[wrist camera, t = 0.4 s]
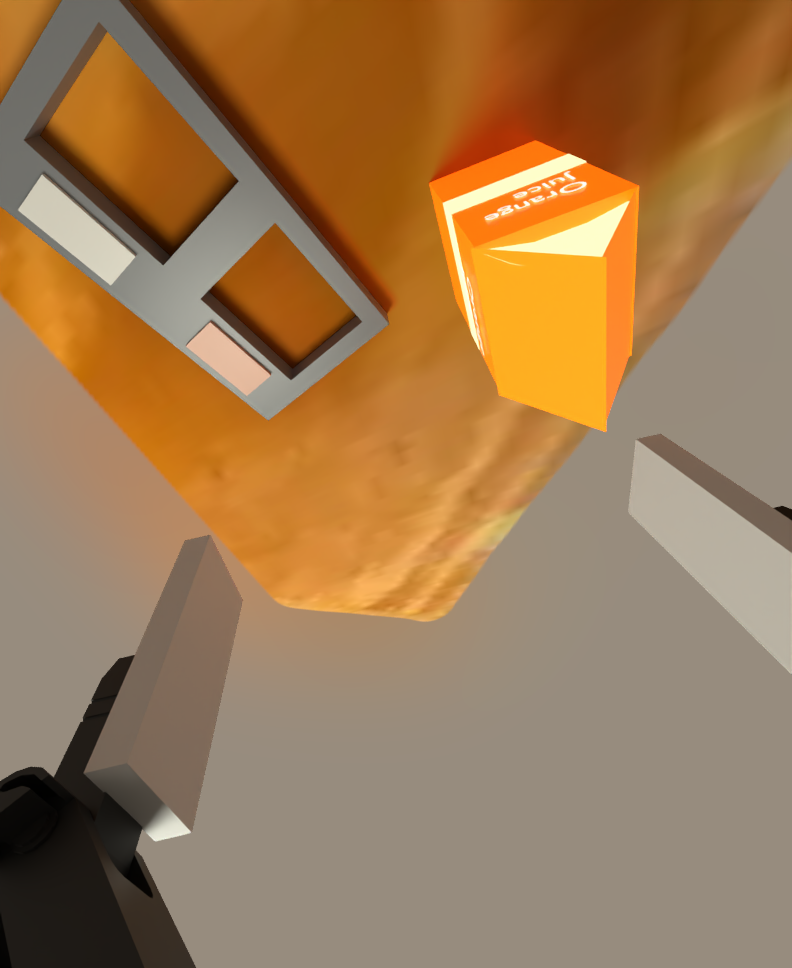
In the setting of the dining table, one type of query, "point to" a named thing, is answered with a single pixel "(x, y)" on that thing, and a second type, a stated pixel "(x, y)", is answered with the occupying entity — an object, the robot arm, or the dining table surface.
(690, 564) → the robot arm
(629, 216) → the orange juice
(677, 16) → the dining table surface
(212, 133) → the socket board
